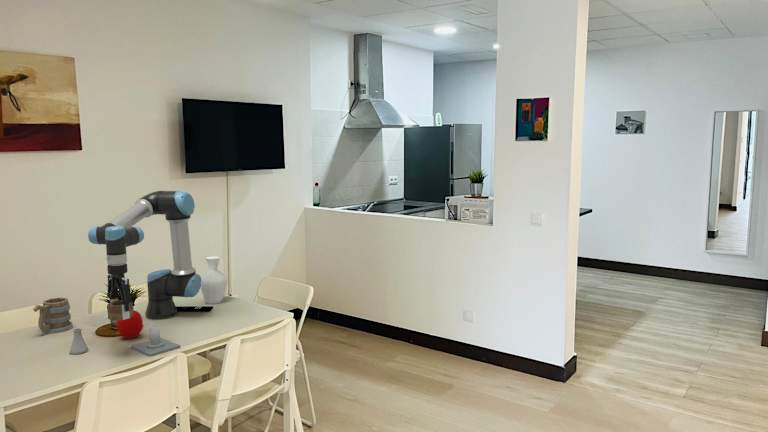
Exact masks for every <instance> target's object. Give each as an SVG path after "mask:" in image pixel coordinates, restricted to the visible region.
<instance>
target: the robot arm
mask: <svg viewBox="0 0 768 432" xmlns="http://www.w3.org/2000/svg"><path fill="white" fill-rule="evenodd" d="M195 205H196V204H195V200H194V198H193V196H192V195H191V194H190V192H187V191H183V190H182V191H181V190H156V191H152V192H149V193H147V194H146V195H144V196H142V197H140V198H139V199H137V200H136V201H135V202H134V204H133V205H132V206H130V207H129V208H128V209H126V210H124V211H123V212H121V213H120V214H118V215H117V216H115V217H114V218H112V219H111V220H109V221H108V222H106V223H105V224H104V225H102V226H92V227H91V228H90V229H89V230H88V233H87V238H88V241H89V242H90V243H91V244H94V245H105V249H106V257H105V259H106V264H107V267H106V268H107V269H106V270H107V274H108V275H107V276H106V277H107V289H106V290H107V292H106V294H107V298H109V300H110V302H113V301H118V300H119V299H118V298H119V297H118V292H119V295H120V298H121V299H120V300H122V302H123V303H122V304H121V305H122V318H123V320H124V319H128V318H130V313H129V303H131V302H133V299H132V295H131V294H132V293H131V287H130V279H129V278H126V277H125V274H126V273H128V257H127V255H128V254H127V247H132V246H135V245H137V244H139V243H142V241H143V240H145V232H144V230H143V229H142V228H141V227H139V226H135V225H137V224H138V223H140V222H141V221H142V220H144V219H145V218H149V217H151V216H153V215H164V216H165V220H166V221H167V222H168V223H169V232H170V240H171V252H172V261H173V262H172V263H173V270H171V269H169V268H168V269H159V270H155V271H152V272H149V273H148V274H147V276H146V277H147V278H146V279H147V281H146V283H147V285H146V286H147V297H148V298H147V299H148V303H147V305H146V309H145V313H144V314H145V318H147V319H148V320H149V319H150V320H165V319H166V320H167V319H170V318H172V317H175V316H177V315H178V310H177V307H176V304H175V302H174V298H173V297H176V298H177V297H178V298H179V297H181V298H193V297H196V296H197V295H198V293H199V292H200V290H201V275H200V274H199V273H197V272H196V271H197V270H196V268H195V267H193V263H192V254H191V253H192V252H191V242H190V233H189V232H190V231H189V220H190V219H191V216H192V215H193V214H194V211H195Z"/></svg>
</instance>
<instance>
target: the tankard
mask: <svg viewBox="0 0 768 432" xmlns="http://www.w3.org/2000/svg"><path fill="white" fill-rule="evenodd" d="M32 310H33V312H38V311H39V317H38V322H37V323H38V328H39V330H40V331H41V332H42V333H45V334H58V333H64V332H67V331H69V330H72V329H74V324H73V321H70V320H72V319H71V318H72V315H71V313H70V310H71V305H70V302H69V299H68V298H67V297H53V298H49V299H48V298H47V299H45V300H43V301H42V305H39V304H36V305H35V306H34V307H33V309H32Z"/></svg>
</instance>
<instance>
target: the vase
mask: <svg viewBox="0 0 768 432" xmlns="http://www.w3.org/2000/svg"><path fill="white" fill-rule="evenodd" d="M220 258H221V257H220V256H215V255H214V256H213V255H211V256H207V257H205V261H206V263H207V267H208V270H207V271H206V272H204V274H202V275H200V277H201V287H200V290H201V293H202V296H203V300H204V302H205V303H206V304H208V305H216V304H219V303H222V301H223V298H224V296H225V293H226V289H227V283H228V282H227V281H228V278H227V274H225V273H223V272H221V271H220V270H219V269H218V266H219V263H220Z"/></svg>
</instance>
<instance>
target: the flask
mask: <svg viewBox="0 0 768 432" xmlns="http://www.w3.org/2000/svg"><path fill="white" fill-rule="evenodd" d="M72 329H73V330H72V331H73V339H72V343H71V346H70V349H69V353H68V354H70V355H82V354H84V353H86V352H89V347H88V346H87V344H86V341H85V340H84V337H83V335H82V334H83V333H82V328H81V327H75V328H72Z"/></svg>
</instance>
